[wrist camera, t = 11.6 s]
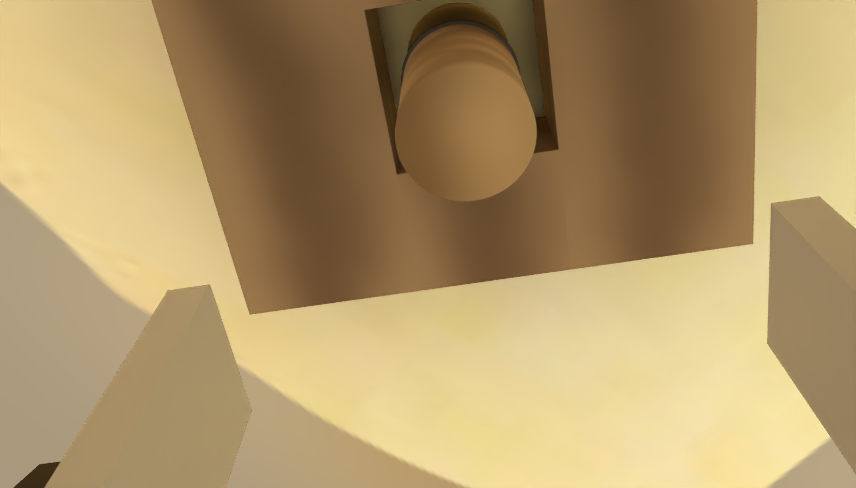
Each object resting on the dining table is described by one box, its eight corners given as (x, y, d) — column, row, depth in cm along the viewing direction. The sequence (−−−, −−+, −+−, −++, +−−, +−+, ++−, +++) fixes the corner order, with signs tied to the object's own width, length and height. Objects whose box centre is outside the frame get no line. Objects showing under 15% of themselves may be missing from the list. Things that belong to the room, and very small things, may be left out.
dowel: (504, -8, 30) (531, 51, 21) (516, 97, 32) (546, 192, 23) (396, 10, 30) (379, 75, 21) (415, 113, 32) (406, 213, 23)
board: (717, -224, 27) (760, -236, 23) (719, 202, 34) (753, 243, 30) (156, -117, 28) (116, -113, 25) (268, 268, 35) (249, 314, 32)
